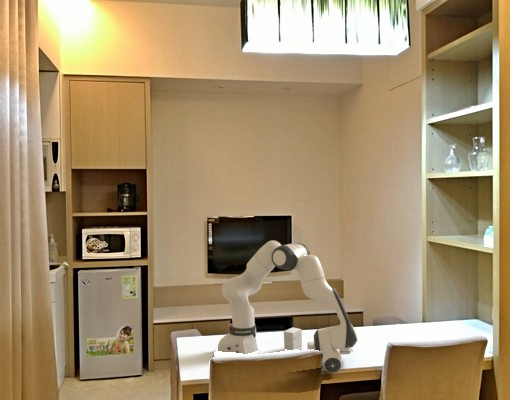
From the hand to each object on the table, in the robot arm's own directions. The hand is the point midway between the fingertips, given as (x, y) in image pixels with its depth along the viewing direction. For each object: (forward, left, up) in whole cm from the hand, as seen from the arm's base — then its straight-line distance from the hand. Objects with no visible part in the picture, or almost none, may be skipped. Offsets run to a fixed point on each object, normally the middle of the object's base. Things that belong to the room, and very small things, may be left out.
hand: (328, 342), depth 222 cm
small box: (-17, +6, -7) cm, 19 cm away
